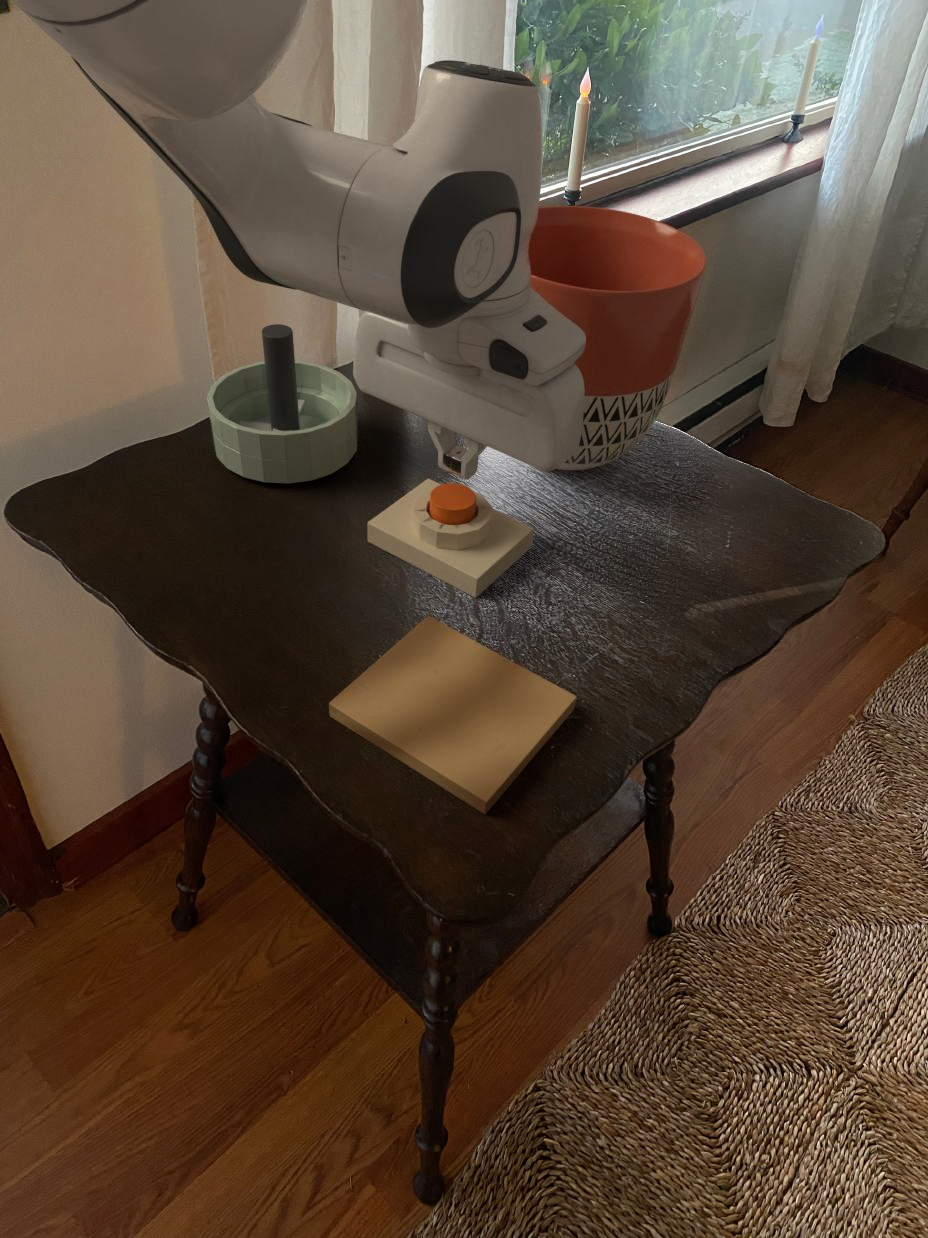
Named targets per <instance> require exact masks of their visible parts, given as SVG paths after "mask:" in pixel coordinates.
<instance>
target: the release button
mask: <svg viewBox="0 0 928 1238" xmlns="http://www.w3.org/2000/svg"><path fill="white" fill-rule="evenodd" d="M473 491H474V490H473V489H471V488H470V487H468V486H467V485H465V484H461V483H454V482H451V483H443V484H441V485H439V486H437V487H436V488H434V489H433V490H432V492H431V494H430V515H431V517H432V518H433V519H434V520H436V521H438V522H440V523H442V524H446V525H455V526H457V525H461V524H466V523H469V522H470V521H471V520H472V519H473V518H474V516H475V506H476V495H475V493H474V492H475V491H474V492H473Z"/></svg>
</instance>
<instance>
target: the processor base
mask: <svg viewBox="0 0 928 1238" xmlns="http://www.w3.org/2000/svg"><path fill="white" fill-rule="evenodd" d="M439 485H442V484H441V483H439V482H437V481H434V480H433V479H430V478H427V479H425V480H423V481H422V482H421V483H420V484H419V485H417V486H415V487H414V488H413V489H411V490H410V491H409V492H407V493H406V494H405V495H404V496H402V497H400V498H399V499H398V500H396V501H395V502H394V503H392V504H391V505H390V506H388V507H387V508H385V509H384V510H383V511H381V512H380V513H379V514H377V515H376V516H374V517H373V518H371V519H370V520H369V521H368V522H367V524H366V527H367V543H369V544H371V545H373V546H375V547H377V548H379V549H381V550H382V551H385V552H387V553H389V554H390V555H393V556H395V557H397V558H398V559H400V560H402V561H404V562H406V563H408V564H409V565H411V566H414V567H416V568H418V569H420V570H421V571H423V572H425V573H426V574H429V575H430V576H433V577H434V578H436V579H439V580H440V581H442V582H444V583H446V584H448V585H450V586H452V587H453V588H456V589H458V590H460V591H461V592H463V593H466V594H468V595H469V596H471V597H473V598H475V599H476V598H478V597H479V596H480V595H481V594H482V593H483V592H484V591H485V590H486V589H487V588H489V587H490V586H491V585H492V584H493V583H494V582H495V581H496V580H497V579H498V578H499V577H501V576H502V575H503V574H505V572H506V571H507V570H508V569H509V568H511V566H513V565H514V564H515V563H516V562H517V561H518V560H519V559H520V558H522V557H523V556H524V554H526V553H527V552H528V551H529V550H530V549H531V548H532V547H533V540H534V533H535V528H534V527H533V526H530V525H529V524H526V523H524V522H522V521H520V520H518V519H516V518H513V517H511V516H509V515H507V514H505V513H502V512H501V511H498V510H496V509H494V508H493V507H492V505H491V503H490V502H489V501H488V500H487V499H486V498H485V496H484V495H483V494H480V493H478V492H476V491H474V490H472V491H473V492H474V493H475V495H476V506H475V516H474V518H473V519H472V520H471V521H470V522H469V523H466V524H461V525H457V526H455V525H446V524H442V523H440V522H438V521H436V520H434V519H433V518H432V517H431V515H430V494H431V492H432V490H433V489H434V488H436V487H437V486H439Z"/></svg>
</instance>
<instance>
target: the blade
mask: <svg viewBox="0 0 928 1238" xmlns="http://www.w3.org/2000/svg"><path fill="white" fill-rule="evenodd" d="M261 338H262V347H263V359H264V361H265V370H266V380H267V390H268V400H269V410H270V420H271V424H267V423H257V422H248V421H241V422H240V424H239V425H240V426H244V427H248V428H252V429H257V430H261V431H279V432H286V431H295V430H303V429H309V428H305V427H300V424H299V415H300V413H301V410H302V408H303V406H304V404H305V400H299V399H298V397H297V383H296V370H295V360H296V359H295V357H296V356H295V344H294V343H295V342H294V332H293V329H292V328H291V327H290V326H288V325H286V324H281V323H280V324H279V323H277V324H275V323H273V324H269V325H266V326H264V327H263V328H262V330H261Z"/></svg>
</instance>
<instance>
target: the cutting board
mask: <svg viewBox="0 0 928 1238" xmlns="http://www.w3.org/2000/svg"><path fill="white" fill-rule="evenodd" d="M577 699H578V697H577V695H575V694H573V693H571V692H569V691H567V690H566V689H564V688H563V687H561V686H558V685H556V684H555V683H553V682H551V681H549V680H548V679H546V678H544V677H542V676H540V675H538V674H537V673H534V672H533V671H531V670H529V669H528V668H526V667H523V666H522V665H520V664H518V663H516V662H515V661H512V660H511V659H509V658H507V657H506V656H503V655H502V654H500V653H498V652H496V651H494V650H493V649H491V648H489V647H487V646H485V645H483V644H481V643H479V642H478V641H476V640H474V639H472V638H470V637H469V636H466V635H464V633H461V632H459V631H457V630H455V629H454V628H452V627H450V626H449V625H446V624H444V623H443V622H441V621H439V620H438V619H435V618H433V617H432V616H430V615H427V616H426V617H424V618H423V619H422V620H421V621H420V622H419V623H418V624H417V625H416V626H415V627H413V628H412V629H411V630H410V631H409V632H408V633H406V634H405V635H404V636H403V637H402V638H401V639H400V640H399V641H397V642H396V643H395V644H394V645H393V646H392V647H390V649H389V650H387V651H385V653H383V654H382V655H381V656H380V657H379V658H378V659H377V660H376V661H375V662H373V664H371V665H370V666H369V667H368V668H367V669H365V670H364V671H363V672H362V673H361V674H360V675H359V676H358V677H356V678H355V679H354V680H353V681H352V682H351V683H350V684H349V685H347V686H346V687H345V688H344V689H343V690H342V691H341V692H340V693H339V694H338V695H336V696H335V697H334V698H333V699H332V700H330V701H329V703H328V711H329V713H328V714H329V717H330V718H332V719H333V720H335V721H336V722H338V723H340V724H341V725H342V726H345V727H346V728H348V729H349V730H351V731H352V732H354V733H356V734H357V735H359V736H360V737H362V738H364V739H365V740H366V741H368V742H370V744H373V745H374V746H376V747H378V748H379V749H381V750H382V751H384V752H385V753H387V754H388V755H390V756H392V757H393V758H395V759H397V760H398V761H400V762H401V763H403V764H404V765H406V766H407V767H410V769H412V770H414V771H415V772H417V773H418V774H420V775H421V776H424V777H425V778H427V779H428V780H430V781H431V782H433V783H434V784H436V785H437V786H439V787H441V788H443V789H444V790H445V791H447V792H448V793H450V794H452V795H453V796H455V797H456V798H458V799H459V800H461V801H462V802H465V803H466V804H468V805H469V806H470V807H472V808H473V809H475V810H477V811H479V812H480V813H482V814H483V815H487V814H488V812H489V811H490V810H491V809H492V808H493V806H494V805H495V804H497V802H498V800H499V799H500V798H501V797H502V796H503V795H504V793H506V791H507V790H508V788H510V786H511V785H512V784H513V783H514V782H515V780H516V779H517V778H518V777H519V776H520V775H521V774H522V772H523V771H524V769H526V767H527V766H528V765H529V764H530V762H531V761H532V760H533V759H534V758H535V757H536V755H538V753H540V751H541V749H542V748H543V747H544V746H545V745H546V744H547V742H549V740H550V739H551V738H552V737H553V735H554V734H555V733H556V731H557V730H558V729H559V728H560V727H561V726H562V725H563V723H564V722H565V721H566V720H567V719H568V718H569V716H570V715H571V714H572V713H573V711H574V710H575V707H576V703H577Z"/></svg>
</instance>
